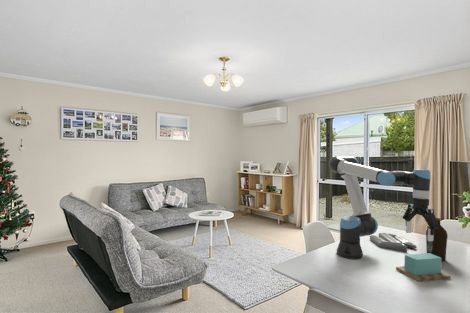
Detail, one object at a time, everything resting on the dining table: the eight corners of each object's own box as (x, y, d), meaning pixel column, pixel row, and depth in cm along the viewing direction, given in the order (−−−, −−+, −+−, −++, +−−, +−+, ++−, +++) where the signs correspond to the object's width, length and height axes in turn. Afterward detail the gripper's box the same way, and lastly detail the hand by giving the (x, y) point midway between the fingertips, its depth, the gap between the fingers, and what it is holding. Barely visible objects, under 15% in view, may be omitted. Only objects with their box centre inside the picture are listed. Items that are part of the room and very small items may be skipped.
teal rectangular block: (415, 275, 138) (416, 259, 138) (404, 269, 145) (404, 254, 145) (441, 272, 141) (441, 257, 141) (428, 267, 148) (429, 252, 148)
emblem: (424, 241, 184) (398, 246, 172) (424, 248, 184) (398, 254, 172) (386, 230, 209) (361, 234, 197) (386, 236, 209) (361, 241, 197)
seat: (418, 281, 134) (418, 273, 134) (396, 269, 148) (396, 262, 148) (450, 278, 138) (450, 270, 138) (426, 267, 152) (426, 260, 152)
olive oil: (441, 256, 169) (442, 216, 169) (450, 262, 159) (451, 220, 159) (422, 254, 172) (423, 215, 171) (430, 260, 161) (431, 219, 161)
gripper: (449, 202, 134) (447, 244, 134) (407, 193, 158) (406, 229, 159) (436, 202, 132) (434, 245, 133) (396, 193, 157) (395, 229, 157)
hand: (419, 236), depth 146 cm, fingers open, 13 cm apart
